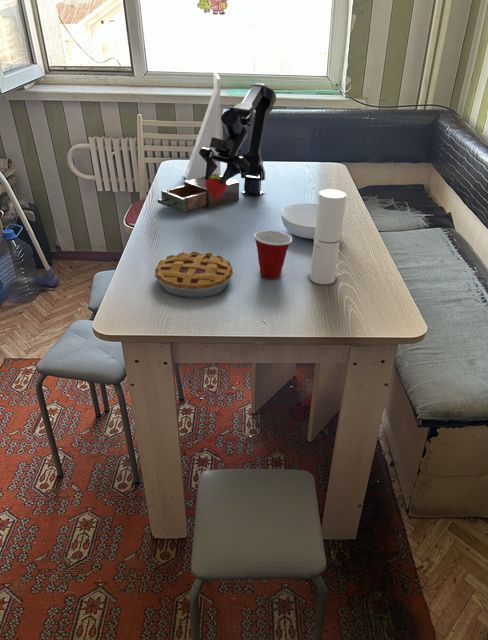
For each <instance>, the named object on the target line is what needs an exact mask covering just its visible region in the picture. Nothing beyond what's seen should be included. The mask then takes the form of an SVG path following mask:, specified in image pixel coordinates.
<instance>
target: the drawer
mask: <svg viewBox="0 0 488 640" xmlns="http://www.w3.org/2000/svg"><path fill="white" fill-rule="evenodd" d="M160 193H161V199H160V198H159V199H157V204H159V205H162V206H164V207H167V208H169V209H172V210H174V211H177V212H180V213H182V214H185V213H187V212H189V211H192V210H194V209H198V208H201V207H204V206H205V205H208V200H207V191H204V190H201V189H199V188H196V187H193V186H191V185H185V184H184V185H180V186H177V187H173V188H169V189H166V190H161V191H160Z"/></svg>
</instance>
